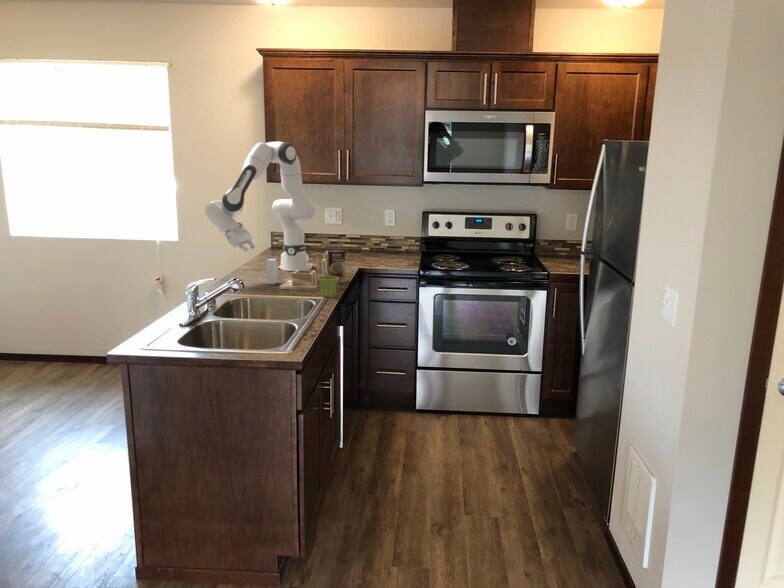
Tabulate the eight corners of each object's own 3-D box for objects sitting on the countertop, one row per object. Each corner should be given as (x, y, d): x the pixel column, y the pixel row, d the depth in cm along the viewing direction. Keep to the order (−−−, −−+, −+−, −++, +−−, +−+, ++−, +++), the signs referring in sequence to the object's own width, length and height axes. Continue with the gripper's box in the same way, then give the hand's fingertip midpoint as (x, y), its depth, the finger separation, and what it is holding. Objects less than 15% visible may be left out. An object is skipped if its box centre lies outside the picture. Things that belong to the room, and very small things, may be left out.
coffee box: (327, 283, 310) (327, 251, 306) (325, 281, 316) (325, 249, 312) (345, 282, 312) (345, 251, 309) (342, 280, 318) (343, 249, 315)
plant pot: (325, 299, 276) (325, 280, 274) (314, 295, 283) (314, 277, 281) (342, 296, 282) (342, 278, 280) (331, 293, 289) (331, 274, 287)
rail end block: (269, 282, 310) (268, 258, 307) (277, 282, 309) (276, 259, 307) (266, 283, 306) (266, 260, 303) (274, 284, 305) (274, 260, 303)
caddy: (289, 282, 310) (288, 252, 306) (328, 284, 307) (328, 253, 304) (279, 289, 294) (278, 257, 291) (321, 291, 292) (321, 259, 288)
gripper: (227, 227, 294) (247, 248, 295) (242, 222, 313) (261, 242, 314) (218, 236, 295) (238, 257, 296) (234, 231, 315) (253, 251, 316)
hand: (250, 249), depth 305 cm, fingers open, 8 cm apart
